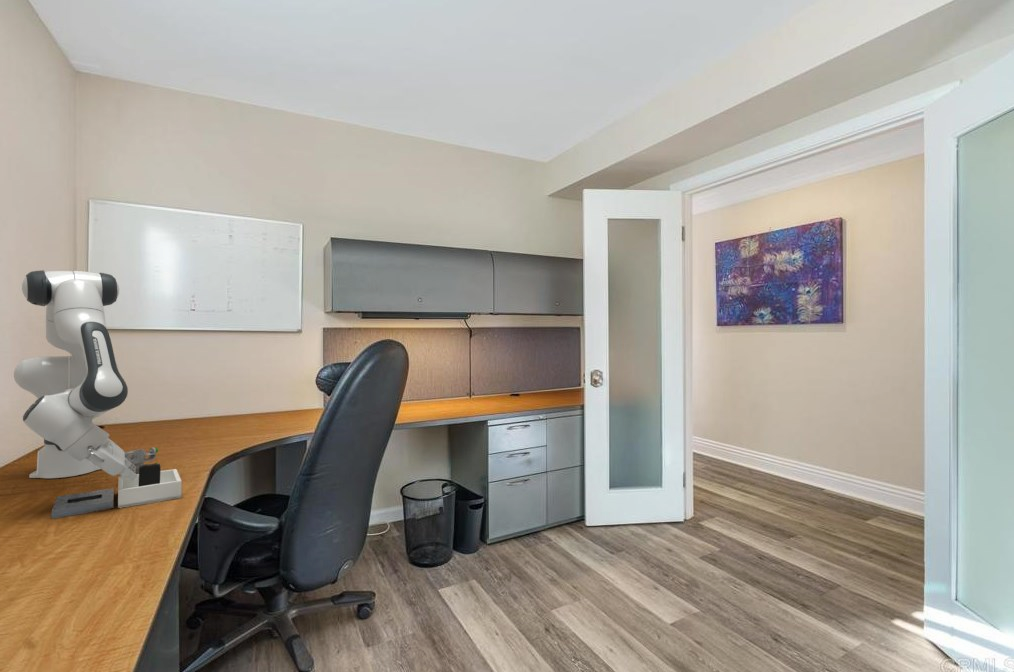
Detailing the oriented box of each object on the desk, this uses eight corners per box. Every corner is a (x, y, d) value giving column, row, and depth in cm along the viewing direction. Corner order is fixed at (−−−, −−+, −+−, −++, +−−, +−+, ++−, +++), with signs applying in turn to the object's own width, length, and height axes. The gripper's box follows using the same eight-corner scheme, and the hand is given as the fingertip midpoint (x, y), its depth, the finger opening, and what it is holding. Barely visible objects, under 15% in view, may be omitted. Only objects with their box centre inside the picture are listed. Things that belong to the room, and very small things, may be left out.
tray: (118, 493, 141) (118, 476, 141) (176, 484, 150) (176, 468, 150) (118, 508, 129) (118, 490, 129) (181, 497, 137) (181, 481, 137)
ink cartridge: (159, 490, 142) (160, 462, 142) (159, 491, 140) (160, 464, 140) (138, 492, 139) (139, 464, 139) (138, 494, 137) (139, 466, 137)
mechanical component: (159, 478, 156) (159, 447, 156) (122, 487, 147) (122, 454, 147) (153, 477, 157) (153, 446, 157) (117, 486, 148) (117, 453, 148)
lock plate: (57, 503, 132) (57, 496, 132) (113, 494, 140) (113, 488, 140) (51, 519, 121) (51, 511, 121) (113, 508, 129) (113, 501, 129)
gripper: (98, 441, 124) (146, 472, 130) (101, 429, 140) (143, 457, 146) (75, 461, 122) (125, 492, 128) (80, 446, 138) (124, 475, 144)
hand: (134, 473), depth 137 cm, fingers open, 8 cm apart
